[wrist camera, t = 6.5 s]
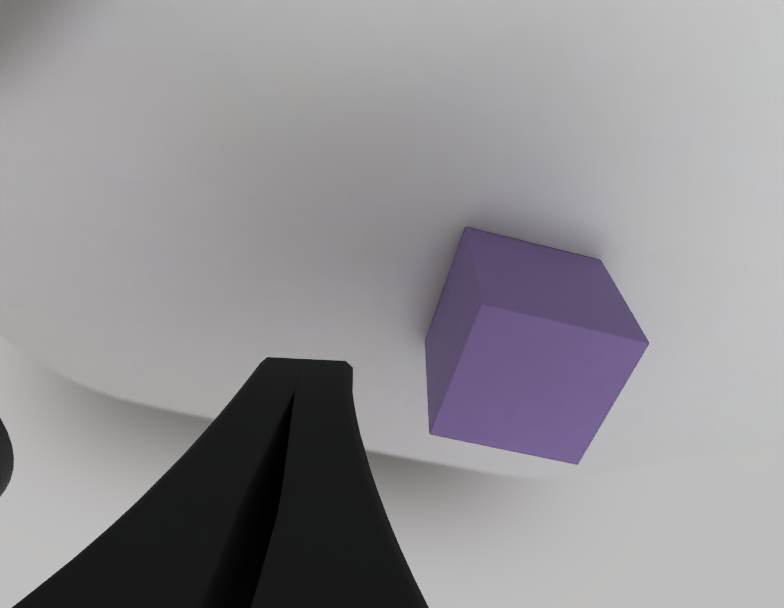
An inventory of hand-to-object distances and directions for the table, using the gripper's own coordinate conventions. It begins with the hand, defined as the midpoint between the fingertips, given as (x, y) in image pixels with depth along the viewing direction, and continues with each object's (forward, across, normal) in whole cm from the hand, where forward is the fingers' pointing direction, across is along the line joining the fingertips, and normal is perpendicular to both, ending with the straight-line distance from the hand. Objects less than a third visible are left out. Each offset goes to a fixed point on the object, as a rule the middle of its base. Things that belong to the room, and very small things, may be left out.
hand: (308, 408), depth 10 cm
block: (+9, -5, +4) cm, 11 cm away
